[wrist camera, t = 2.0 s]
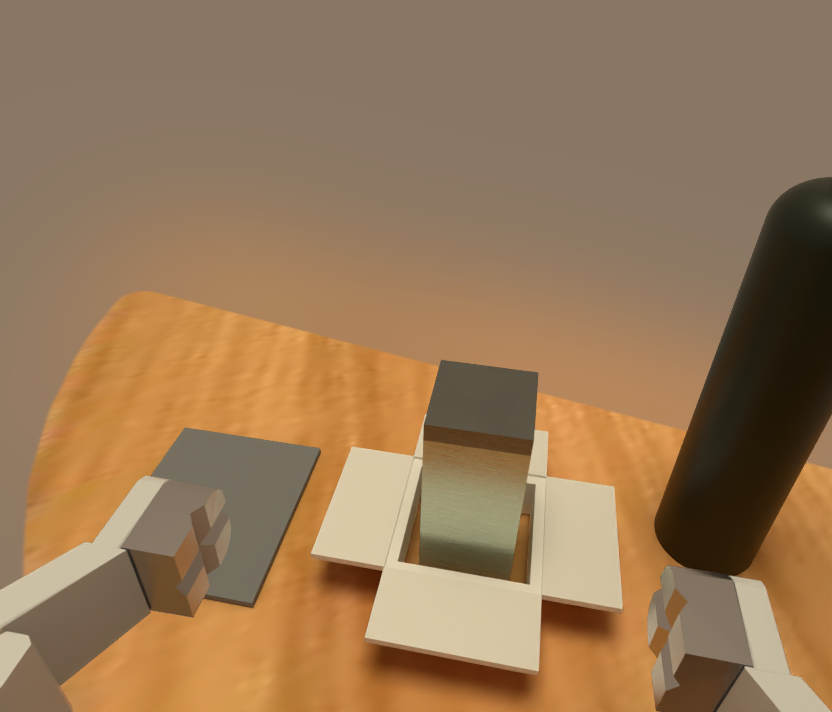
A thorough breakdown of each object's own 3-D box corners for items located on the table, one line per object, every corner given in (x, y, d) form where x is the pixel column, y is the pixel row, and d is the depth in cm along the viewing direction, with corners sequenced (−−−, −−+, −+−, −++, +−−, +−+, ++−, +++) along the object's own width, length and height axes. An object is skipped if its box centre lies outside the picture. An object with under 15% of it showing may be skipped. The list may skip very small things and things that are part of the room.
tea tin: (512, 525, 40) (538, 372, 33) (506, 596, 36) (533, 440, 29) (433, 512, 41) (441, 360, 33) (418, 580, 37) (423, 424, 29)
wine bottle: (767, 582, 37) (1117, -21, 19) (664, 572, 37) (913, -28, 19) (737, 504, 41) (997, -41, 24) (646, 495, 42) (833, -46, 24)
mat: (320, 452, 44) (320, 448, 44) (252, 607, 35) (252, 603, 35) (185, 431, 46) (184, 427, 46) (85, 575, 36) (83, 570, 36)
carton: (601, 472, 43) (610, 440, 42) (615, 720, 31) (628, 688, 29) (368, 437, 46) (367, 405, 44) (290, 654, 33) (284, 621, 31)
